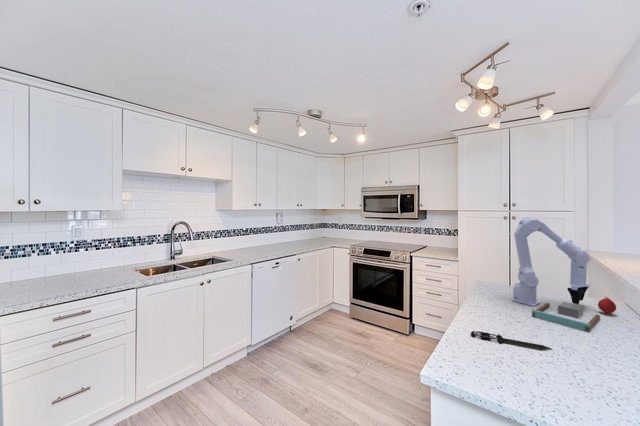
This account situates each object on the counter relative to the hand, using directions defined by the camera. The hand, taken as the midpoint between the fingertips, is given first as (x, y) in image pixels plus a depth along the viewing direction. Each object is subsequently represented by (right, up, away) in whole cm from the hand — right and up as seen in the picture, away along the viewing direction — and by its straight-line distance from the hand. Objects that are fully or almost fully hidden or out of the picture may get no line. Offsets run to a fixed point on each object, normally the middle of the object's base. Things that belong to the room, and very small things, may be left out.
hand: (577, 301), depth 134 cm
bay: (-16, -3, -11) cm, 20 cm away
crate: (-10, -4, -7) cm, 13 cm away
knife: (-56, -5, -32) cm, 65 cm away
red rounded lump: (+6, -3, -8) cm, 10 cm away
